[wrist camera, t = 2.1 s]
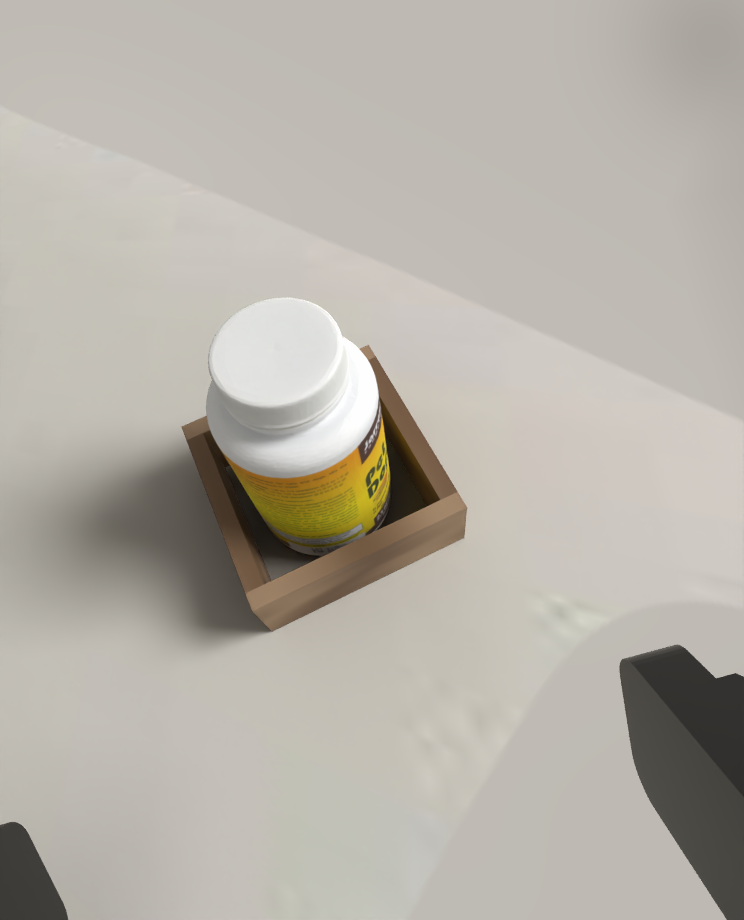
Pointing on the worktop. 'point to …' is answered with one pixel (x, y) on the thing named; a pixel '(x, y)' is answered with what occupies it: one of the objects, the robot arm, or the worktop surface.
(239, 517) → the wooden box
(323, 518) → the supplement bottle
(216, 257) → the worktop surface
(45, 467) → the worktop surface
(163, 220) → the worktop surface
